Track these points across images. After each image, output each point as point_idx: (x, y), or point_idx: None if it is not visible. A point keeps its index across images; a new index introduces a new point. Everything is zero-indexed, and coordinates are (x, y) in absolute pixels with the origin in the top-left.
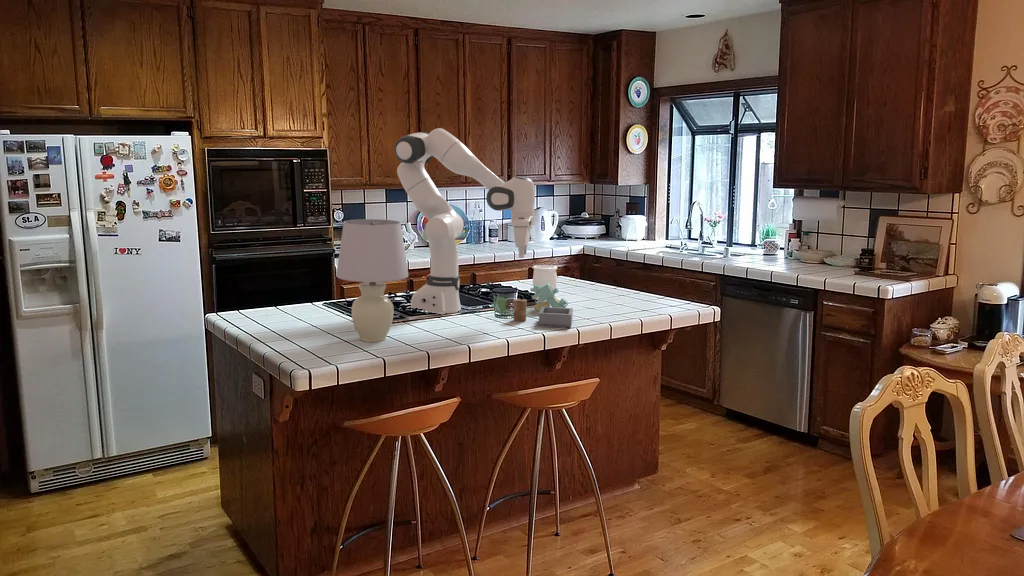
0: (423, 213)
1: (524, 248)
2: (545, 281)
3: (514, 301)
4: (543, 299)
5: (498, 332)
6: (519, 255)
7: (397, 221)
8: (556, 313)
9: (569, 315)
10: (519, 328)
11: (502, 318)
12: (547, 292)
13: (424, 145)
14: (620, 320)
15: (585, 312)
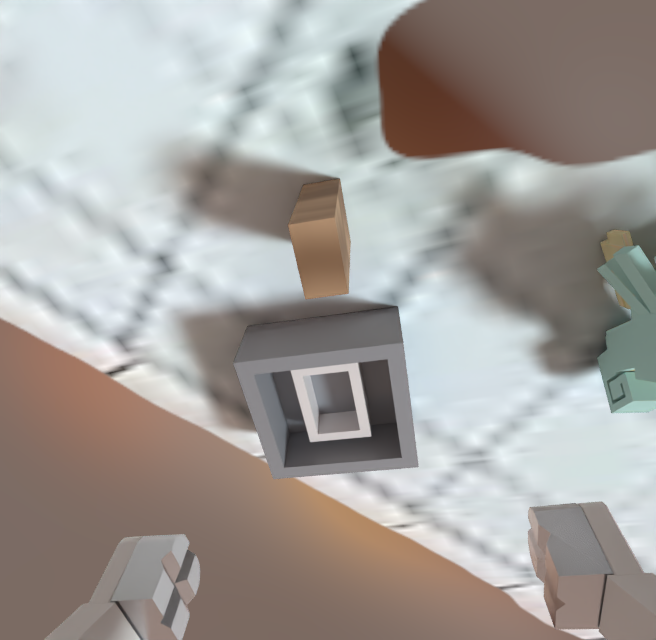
0: None
1: (631, 634)
2: None
3: (289, 223)
4: (634, 306)
5: (21, 186)
6: (109, 572)
7: None
8: (270, 427)
9: (272, 470)
10: (160, 258)
11: (336, 99)
12: (653, 354)
13: None
14: (481, 546)
15: (609, 442)
